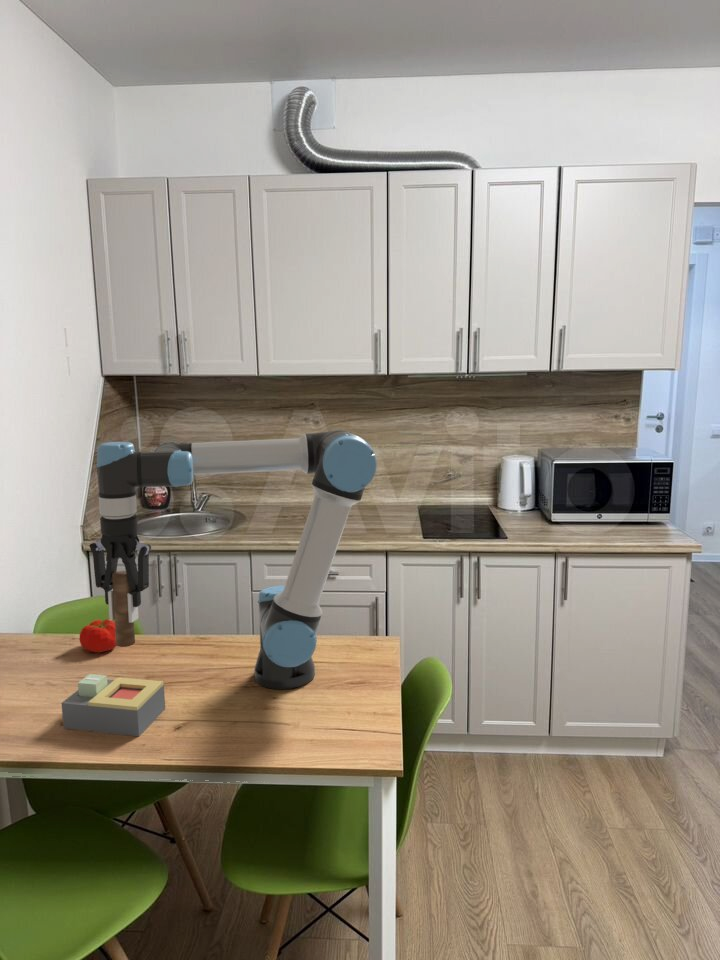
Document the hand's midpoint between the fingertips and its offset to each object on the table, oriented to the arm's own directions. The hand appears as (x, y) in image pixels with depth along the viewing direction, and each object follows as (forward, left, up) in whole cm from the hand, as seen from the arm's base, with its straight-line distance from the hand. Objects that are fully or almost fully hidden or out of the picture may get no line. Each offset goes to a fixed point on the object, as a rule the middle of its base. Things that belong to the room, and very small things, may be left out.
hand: (124, 619), depth 155 cm
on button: (+8, +1, -18) cm, 20 cm away
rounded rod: (0, 0, -6) cm, 6 cm away
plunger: (0, +1, -20) cm, 20 cm away
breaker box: (+3, +1, -23) cm, 24 cm away
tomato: (+28, -33, -24) cm, 49 cm away
